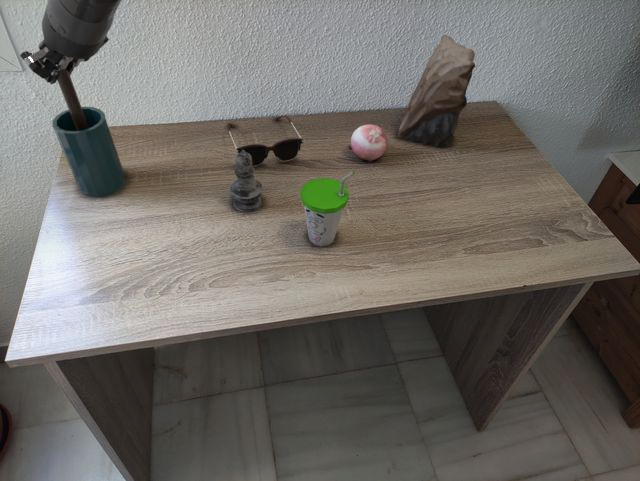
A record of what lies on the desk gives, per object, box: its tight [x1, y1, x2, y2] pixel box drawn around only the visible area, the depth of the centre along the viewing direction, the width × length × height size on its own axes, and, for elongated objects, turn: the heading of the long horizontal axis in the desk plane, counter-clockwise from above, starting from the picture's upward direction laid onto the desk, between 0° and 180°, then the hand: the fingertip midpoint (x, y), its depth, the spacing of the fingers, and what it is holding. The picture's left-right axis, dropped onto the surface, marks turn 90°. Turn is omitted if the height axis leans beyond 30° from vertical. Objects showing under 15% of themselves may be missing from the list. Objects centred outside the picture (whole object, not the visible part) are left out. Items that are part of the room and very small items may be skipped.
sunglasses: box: [226, 114, 304, 167], centre depth 100 cm, size 14×16×5 cm
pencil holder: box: [51, 106, 126, 198], centre depth 85 cm, size 8×8×14 cm
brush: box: [56, 67, 89, 131], centre depth 80 cm, size 4×4×22 cm
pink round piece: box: [347, 124, 388, 163], centre depth 98 cm, size 8×8×7 cm
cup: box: [299, 170, 355, 248], centre depth 77 cm, size 8×8×15 cm
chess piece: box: [229, 150, 264, 213], centre depth 84 cm, size 6×6×12 cm
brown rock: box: [397, 34, 476, 148], centre depth 100 cm, size 13×13×20 cm
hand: (55, 75), depth 76 cm, fingers closed on brush, 2 cm apart
